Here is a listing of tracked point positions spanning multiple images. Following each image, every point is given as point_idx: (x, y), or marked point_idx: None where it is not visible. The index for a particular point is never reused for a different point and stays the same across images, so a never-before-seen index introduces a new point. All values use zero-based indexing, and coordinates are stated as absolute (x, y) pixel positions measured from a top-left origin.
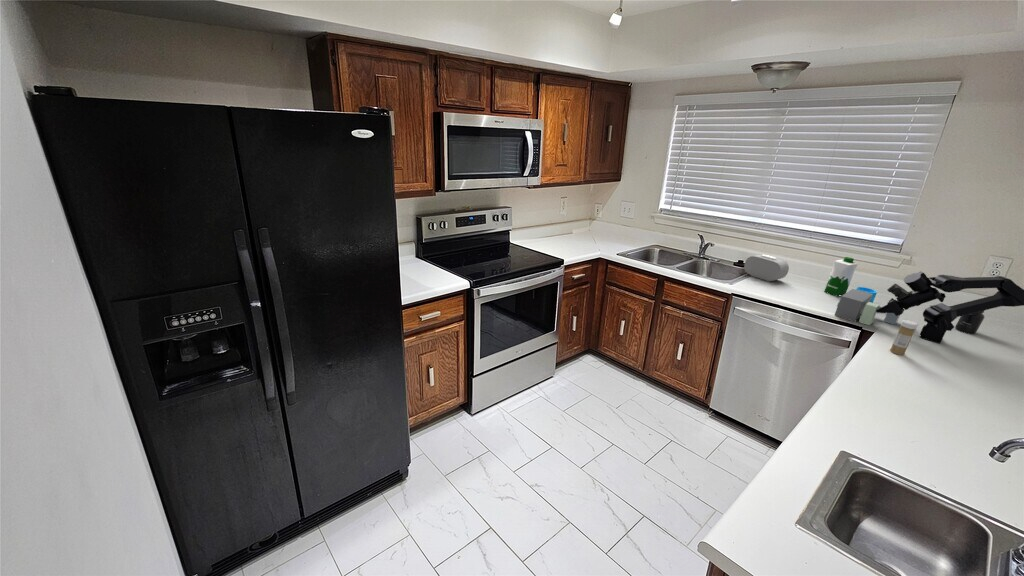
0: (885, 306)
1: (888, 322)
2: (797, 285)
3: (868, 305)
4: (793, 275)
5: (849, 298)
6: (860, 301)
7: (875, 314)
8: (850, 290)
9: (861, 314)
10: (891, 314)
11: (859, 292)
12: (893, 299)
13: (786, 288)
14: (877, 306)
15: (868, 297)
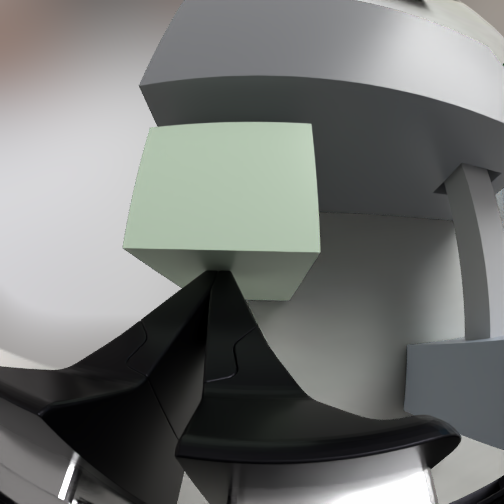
0: (108, 350)
1: (407, 374)
2: (448, 27)
3: (143, 158)
4: (499, 39)
5: (170, 23)
6: (144, 75)
7: (275, 285)
8: (437, 24)
9: (358, 204)
10: (445, 378)
11: (472, 60)
12: (419, 464)
13: (381, 2)
14: (171, 245)
15: (437, 101)
